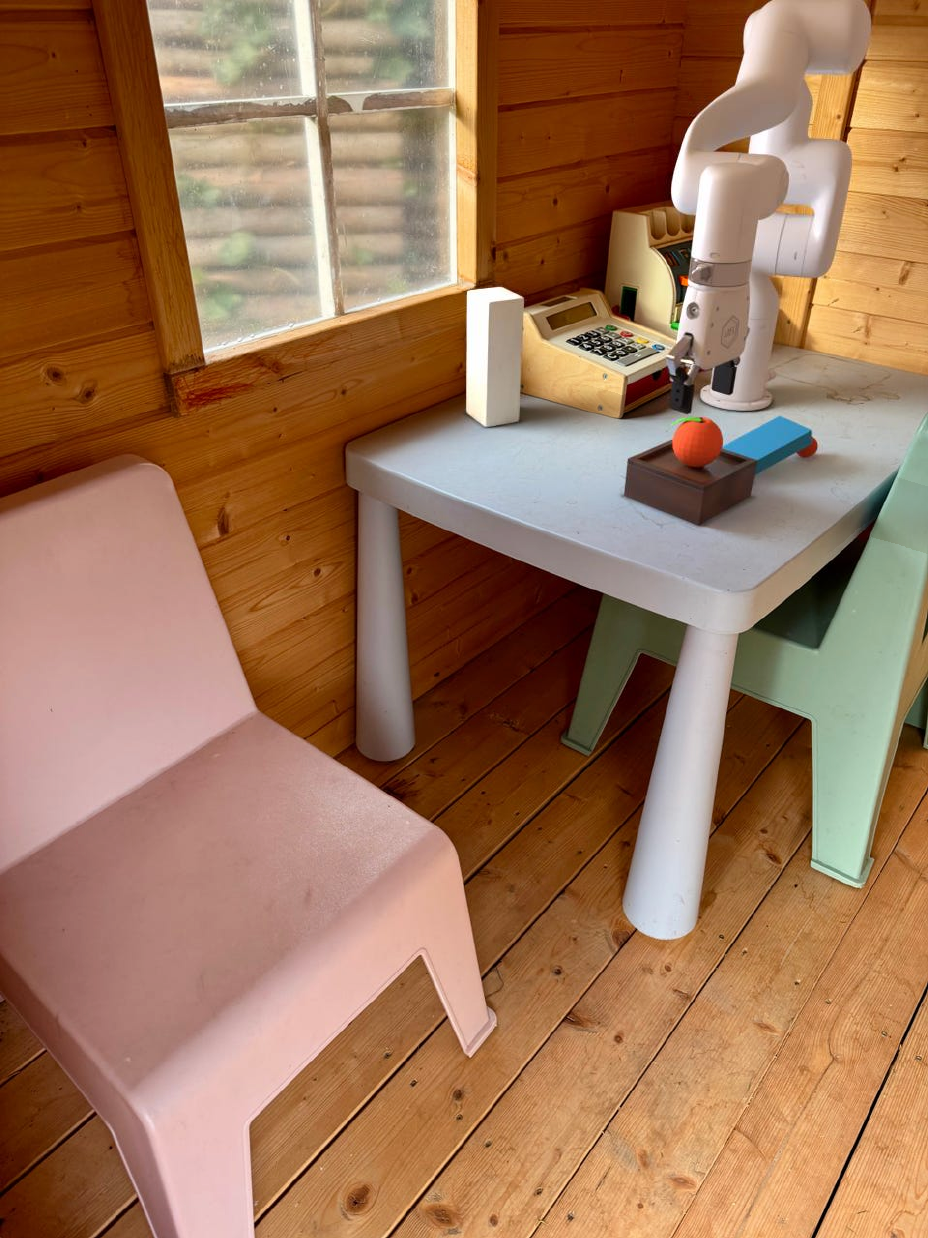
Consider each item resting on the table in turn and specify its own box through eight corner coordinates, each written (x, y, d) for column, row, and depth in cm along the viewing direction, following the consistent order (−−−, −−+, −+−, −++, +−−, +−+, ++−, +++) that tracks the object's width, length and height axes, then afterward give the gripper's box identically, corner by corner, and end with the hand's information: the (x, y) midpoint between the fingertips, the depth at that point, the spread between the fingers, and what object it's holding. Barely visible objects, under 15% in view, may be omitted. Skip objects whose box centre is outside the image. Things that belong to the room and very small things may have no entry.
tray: (677, 470, 140) (681, 434, 137) (750, 497, 132) (757, 459, 129) (623, 495, 132) (627, 458, 129) (698, 525, 124) (704, 486, 121)
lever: (739, 510, 138) (830, 458, 142) (736, 471, 134) (831, 419, 138) (709, 492, 143) (798, 443, 147) (706, 455, 139) (798, 405, 143)
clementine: (659, 471, 127) (665, 423, 123) (664, 452, 133) (669, 405, 129) (718, 477, 126) (726, 428, 122) (720, 458, 131) (727, 410, 127)
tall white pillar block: (524, 421, 157) (528, 296, 146) (486, 428, 155) (487, 301, 143) (502, 406, 163) (504, 285, 152) (465, 413, 161) (465, 290, 149)
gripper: (704, 290, 108) (686, 426, 118) (782, 264, 118) (759, 392, 127) (653, 279, 113) (640, 411, 122) (732, 255, 122) (714, 379, 132)
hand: (701, 401), depth 125 cm, fingers open, 9 cm apart
